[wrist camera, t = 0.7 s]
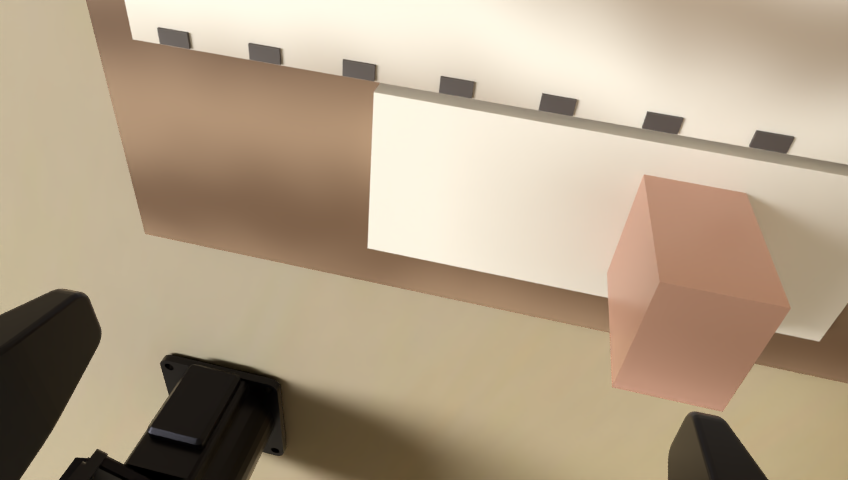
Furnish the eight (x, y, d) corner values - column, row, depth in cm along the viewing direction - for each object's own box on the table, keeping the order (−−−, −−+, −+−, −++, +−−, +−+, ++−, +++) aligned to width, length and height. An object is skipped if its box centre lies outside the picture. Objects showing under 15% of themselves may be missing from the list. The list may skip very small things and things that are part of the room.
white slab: (812, 325, 21) (874, 472, 17) (373, 235, 23) (321, 347, 18) (917, 176, 17) (1034, 316, 13) (380, 82, 19) (317, 175, 15)
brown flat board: (855, 370, 23) (871, 406, 22) (155, 223, 26) (133, 246, 25) (1340, -216, 12) (1434, -215, 11) (20, -350, 15) (-35, -362, 14)
